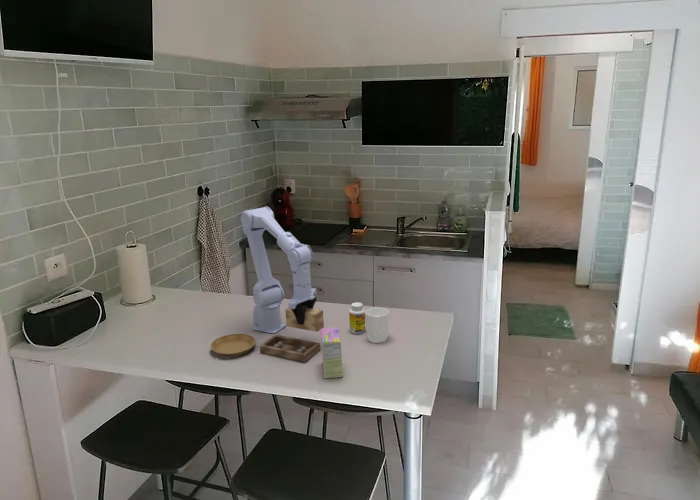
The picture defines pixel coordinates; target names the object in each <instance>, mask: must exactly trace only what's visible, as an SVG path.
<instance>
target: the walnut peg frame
mask: <svg viewBox="0 0 700 500" xmlns="http://www.w3.org/2000/svg"><path fill="white" fill-rule="evenodd" d="M320 351H321V343H320V342H317V341H316V342H315V341H310V340H306V339H305V340H304V339H302V338H301V339H300V338H296V337H290V336H284V335H281V334H273V335H272V336H271V337H270V338H269V339H267V340H266V341H264V342H263V343H261V344H260V345H259V353H260V354H262V355H263V354H264V355H267V356H271V357H276V358H281V359H286V360H290V361H293V362H298V363H303V364H306V363H307V362H309V361H310V360H311V359H312V358H313V357H315V356H316V355H317V354H318V353H319V352H320Z"/></svg>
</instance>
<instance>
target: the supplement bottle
mask: <svg viewBox="0 0 700 500" xmlns="http://www.w3.org/2000/svg"><path fill="white" fill-rule="evenodd" d="M348 311H349V312H348V314H349V317H348V318H349V332H350V333H352V334H353V335H354V334H356V335H359V334H363V333H364V332H365V331H366V316H365V311H366V309H365V308H364V307H363V303H362V302H353V303H351V307H350V308H349V310H348Z"/></svg>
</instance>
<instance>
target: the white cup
mask: <svg viewBox="0 0 700 500" xmlns="http://www.w3.org/2000/svg"><path fill="white" fill-rule="evenodd" d="M389 315H390V314H389V310H388V309H387V308H384V307H371V308H368V309H365V329H366V333H367V335H366V336H367V340H368V342H369V343H370V342H371V343H374V344H382V343H384V342H387V340H388V332H389Z"/></svg>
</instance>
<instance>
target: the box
mask: <svg viewBox="0 0 700 500" xmlns="http://www.w3.org/2000/svg"><path fill="white" fill-rule="evenodd" d="M320 339H321V341H320V342H321V343H320V344H321V353H322V355H321V356H322V368H323V379H336V378H343V356H342V354H343V353H342V341H341V335H340V329H339V326H338V327H325V328H324V327H323V328H322V329H321V330H320Z"/></svg>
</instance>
